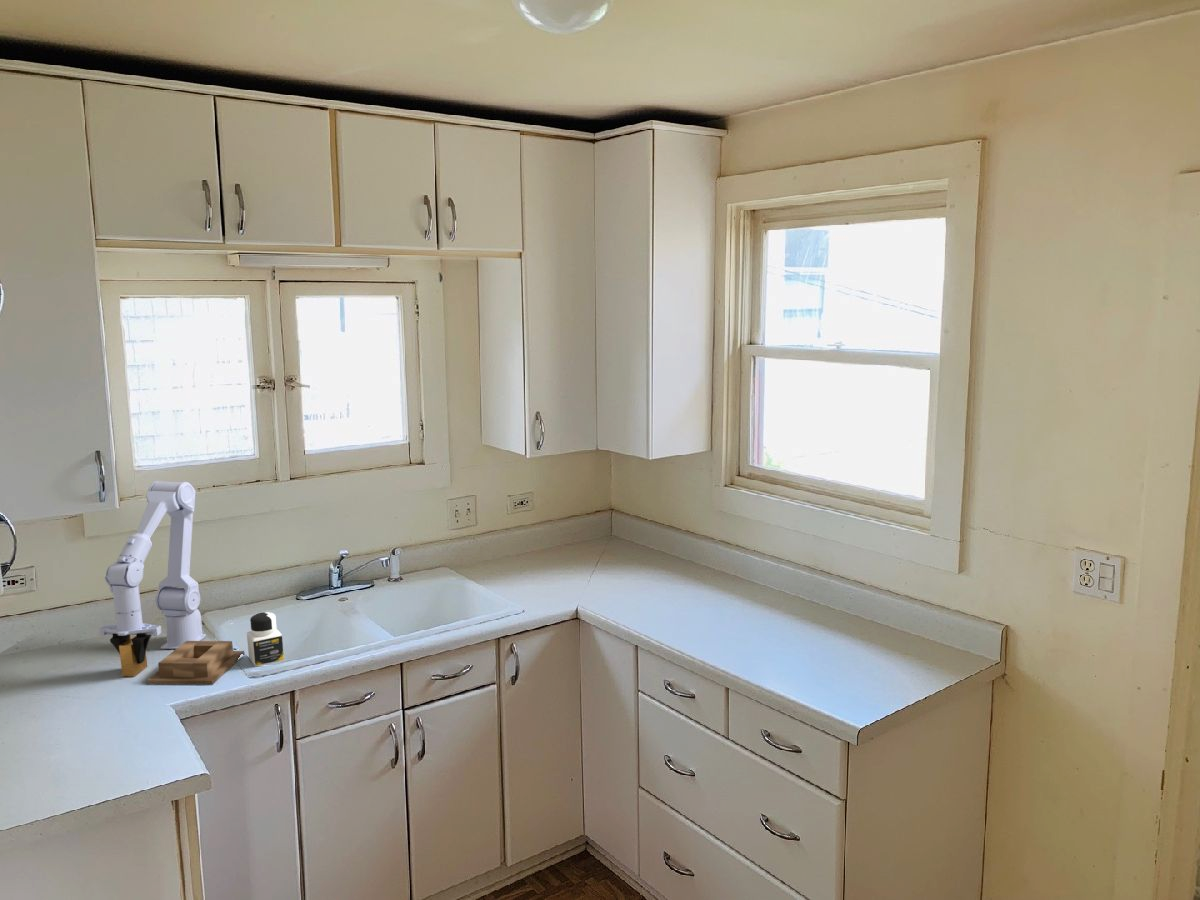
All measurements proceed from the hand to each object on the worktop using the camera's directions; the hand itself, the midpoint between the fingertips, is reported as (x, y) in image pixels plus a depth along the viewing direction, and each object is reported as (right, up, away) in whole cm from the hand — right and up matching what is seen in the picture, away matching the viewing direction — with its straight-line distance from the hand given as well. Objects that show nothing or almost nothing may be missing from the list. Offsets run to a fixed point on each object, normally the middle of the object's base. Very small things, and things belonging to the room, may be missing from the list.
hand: (134, 662), depth 226 cm
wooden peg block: (0, -2, 0) cm, 2 cm away
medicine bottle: (+30, -1, +7) cm, 31 cm away
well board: (+15, -2, +2) cm, 15 cm away
